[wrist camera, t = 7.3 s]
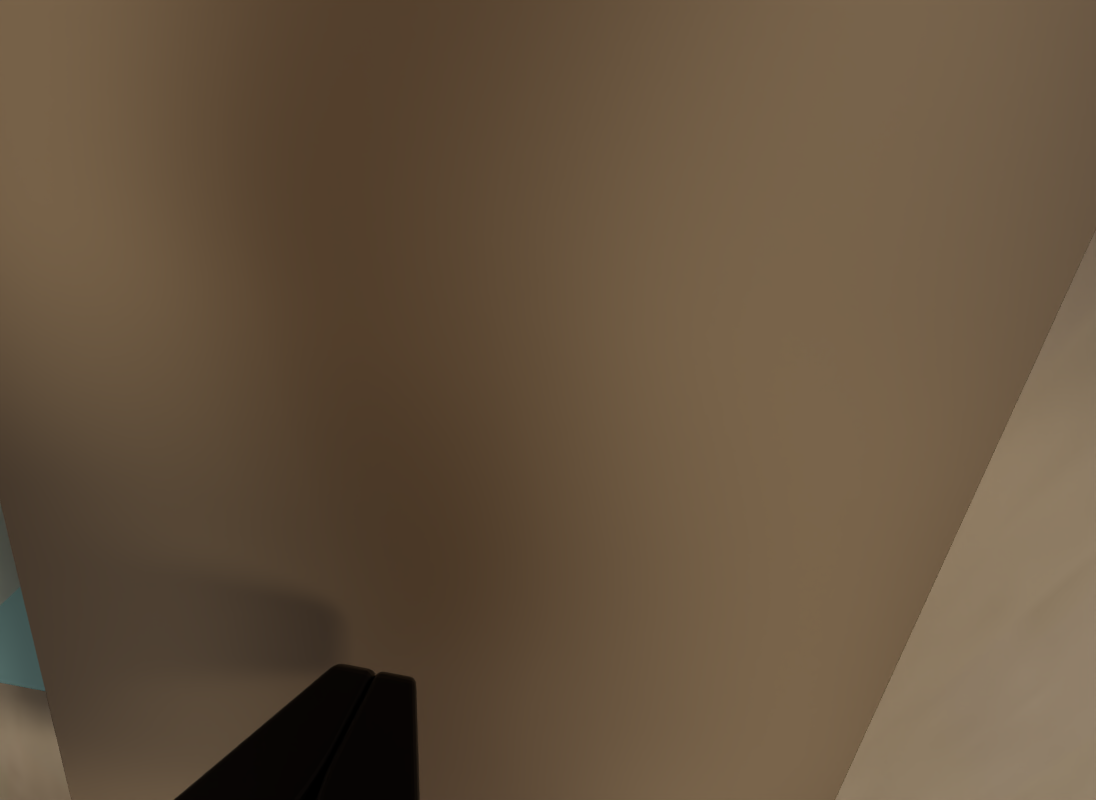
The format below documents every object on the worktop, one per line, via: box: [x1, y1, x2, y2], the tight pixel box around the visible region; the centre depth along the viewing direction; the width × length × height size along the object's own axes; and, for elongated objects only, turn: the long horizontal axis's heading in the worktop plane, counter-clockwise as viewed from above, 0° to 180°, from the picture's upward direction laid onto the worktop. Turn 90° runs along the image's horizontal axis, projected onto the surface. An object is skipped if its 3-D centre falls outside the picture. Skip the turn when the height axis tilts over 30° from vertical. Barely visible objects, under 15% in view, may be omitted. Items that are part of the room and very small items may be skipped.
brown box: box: [0, 0, 1096, 800], centre depth 11 cm, size 10×16×4 cm, turn 173°
